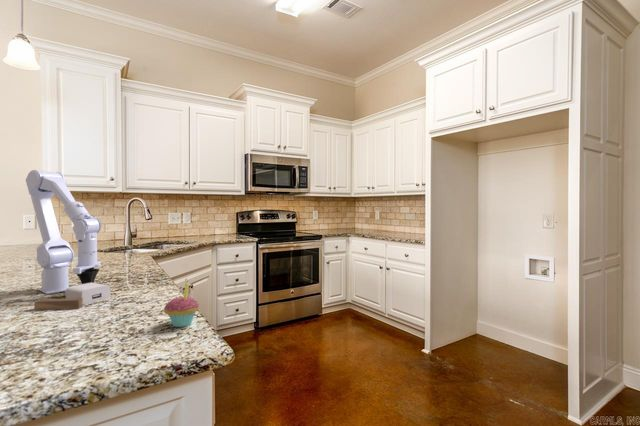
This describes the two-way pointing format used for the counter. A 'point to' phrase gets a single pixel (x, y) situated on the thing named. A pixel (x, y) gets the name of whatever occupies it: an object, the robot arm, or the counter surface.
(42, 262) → the robot arm
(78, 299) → the bar
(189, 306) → the cupcake
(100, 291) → the charger
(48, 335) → the counter surface
